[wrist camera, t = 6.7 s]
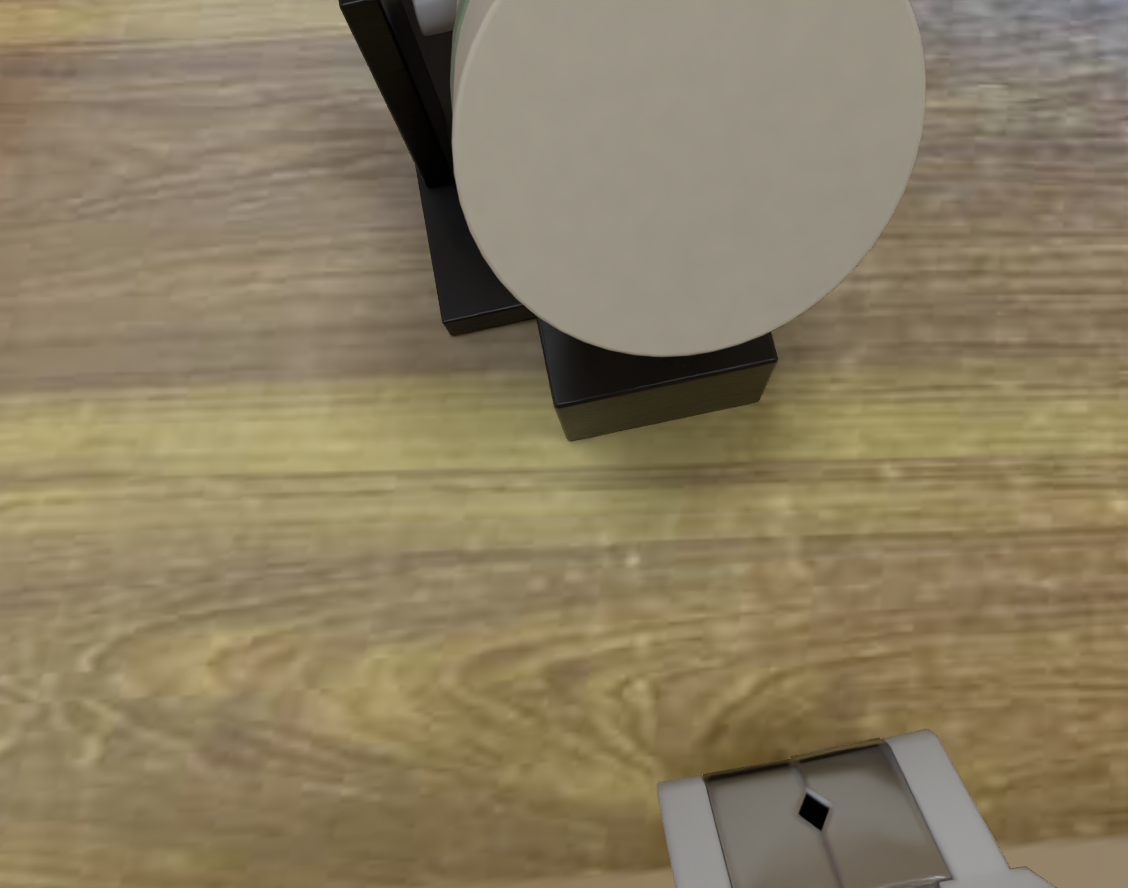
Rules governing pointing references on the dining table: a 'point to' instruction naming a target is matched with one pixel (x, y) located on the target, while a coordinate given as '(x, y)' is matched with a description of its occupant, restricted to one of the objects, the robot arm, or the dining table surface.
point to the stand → (478, 298)
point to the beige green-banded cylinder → (679, 156)
